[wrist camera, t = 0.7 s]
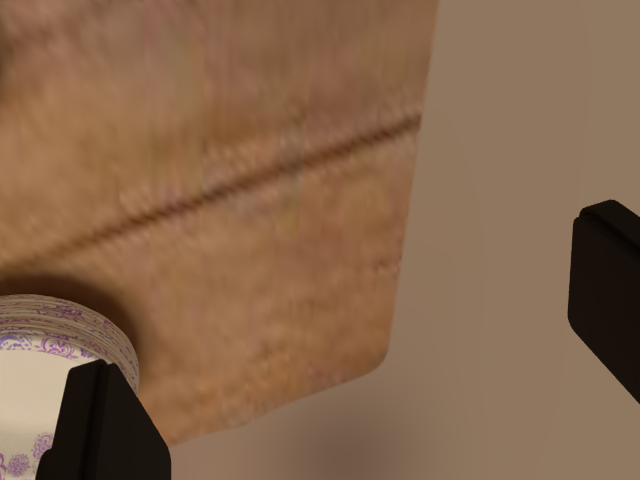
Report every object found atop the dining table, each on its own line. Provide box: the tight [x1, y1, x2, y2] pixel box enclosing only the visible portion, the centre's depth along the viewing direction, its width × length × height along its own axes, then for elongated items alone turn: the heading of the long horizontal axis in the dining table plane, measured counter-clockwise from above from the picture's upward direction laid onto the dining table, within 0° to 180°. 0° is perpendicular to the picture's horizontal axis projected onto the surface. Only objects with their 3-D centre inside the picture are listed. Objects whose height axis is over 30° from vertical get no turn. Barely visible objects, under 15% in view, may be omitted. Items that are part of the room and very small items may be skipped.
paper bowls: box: [0, 294, 139, 480], centre depth 42 cm, size 15×15×8 cm
